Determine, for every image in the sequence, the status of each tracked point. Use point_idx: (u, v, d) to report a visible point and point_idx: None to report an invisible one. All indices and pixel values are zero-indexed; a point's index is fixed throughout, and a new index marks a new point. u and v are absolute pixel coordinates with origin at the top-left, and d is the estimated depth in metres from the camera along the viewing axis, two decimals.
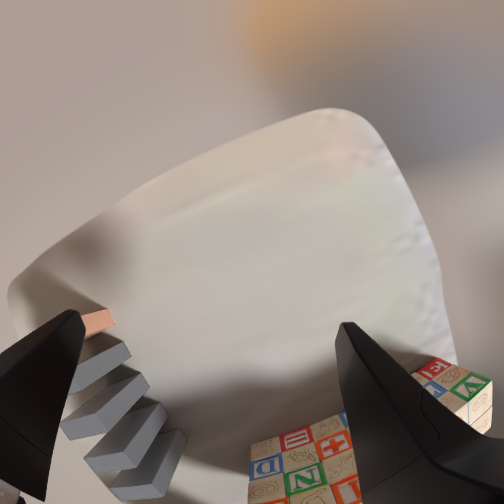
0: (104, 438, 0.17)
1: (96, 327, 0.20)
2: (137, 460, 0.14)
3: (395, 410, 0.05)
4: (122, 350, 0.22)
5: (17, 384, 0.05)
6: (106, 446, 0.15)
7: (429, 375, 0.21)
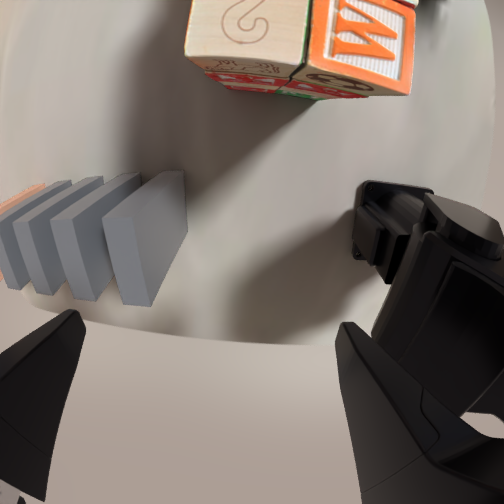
0: None
1: (19, 196, 0.16)
2: (75, 214, 0.11)
3: (395, 410, 0.05)
4: (55, 184, 0.18)
5: (17, 384, 0.05)
6: None
7: None
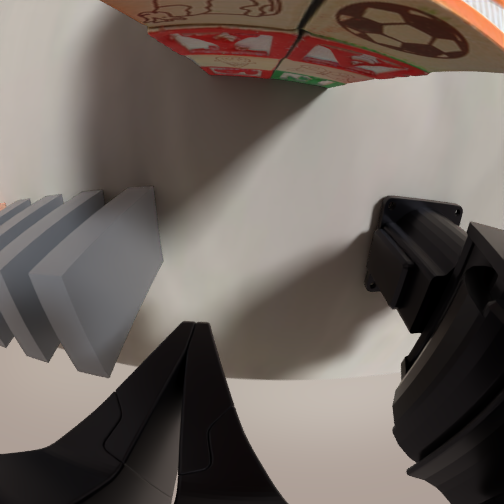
0: None
1: None
2: (6, 260, 0.07)
3: (183, 420, 0.05)
4: (13, 205, 0.13)
5: (151, 426, 0.05)
6: None
7: None
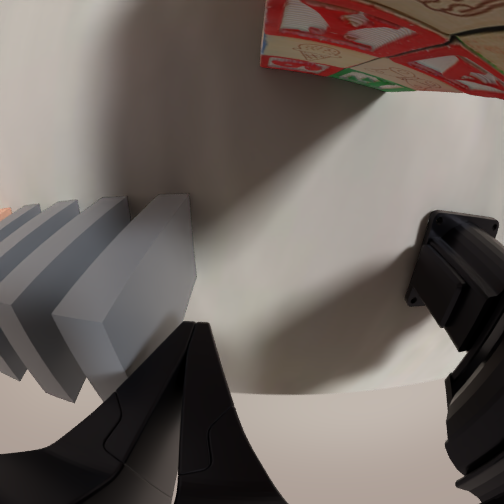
0: None
1: None
2: (18, 290, 0.06)
3: (183, 420, 0.05)
4: (20, 211, 0.12)
5: (151, 426, 0.05)
6: None
7: None
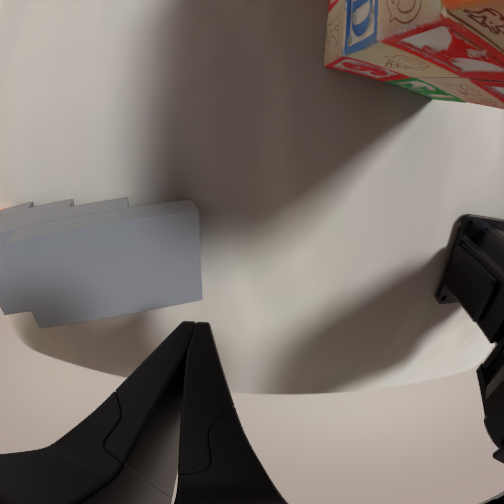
0: None
1: None
2: None
3: (183, 420, 0.05)
4: (16, 208, 0.12)
5: (151, 426, 0.05)
6: None
7: None
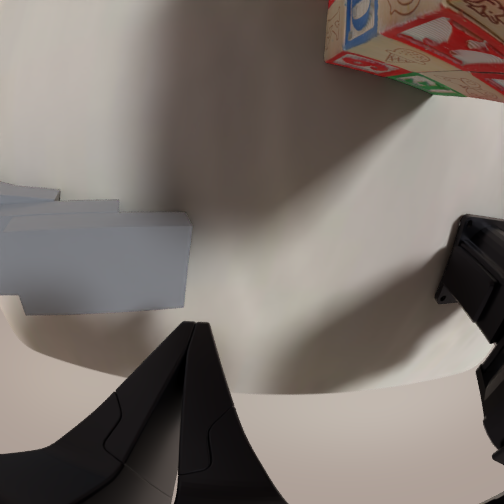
0: None
1: None
2: None
3: (183, 420, 0.05)
4: None
5: (151, 426, 0.05)
6: None
7: None
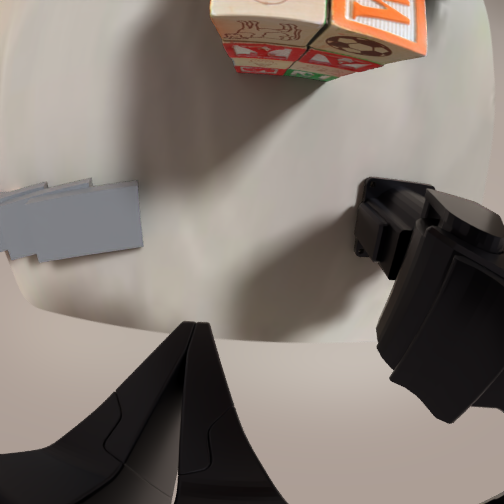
0: None
1: None
2: (2, 205, 0.15)
3: (183, 420, 0.05)
4: None
5: (150, 426, 0.05)
6: None
7: None
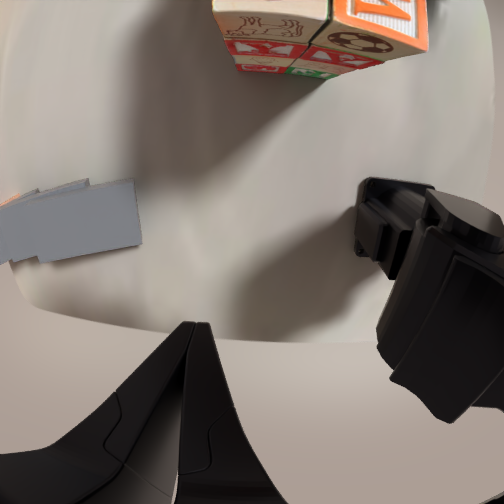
0: None
1: None
2: (2, 208, 0.15)
3: (183, 420, 0.05)
4: None
5: (150, 426, 0.05)
6: None
7: None
